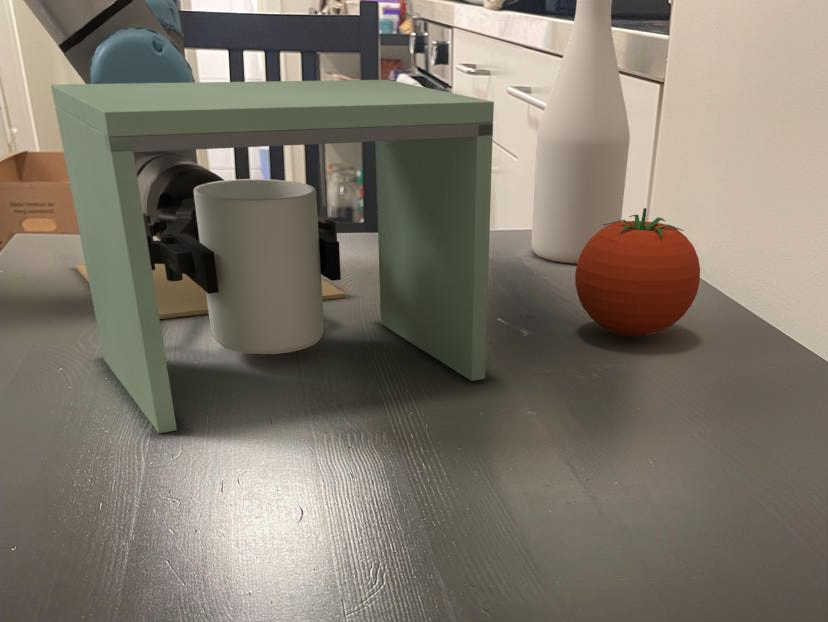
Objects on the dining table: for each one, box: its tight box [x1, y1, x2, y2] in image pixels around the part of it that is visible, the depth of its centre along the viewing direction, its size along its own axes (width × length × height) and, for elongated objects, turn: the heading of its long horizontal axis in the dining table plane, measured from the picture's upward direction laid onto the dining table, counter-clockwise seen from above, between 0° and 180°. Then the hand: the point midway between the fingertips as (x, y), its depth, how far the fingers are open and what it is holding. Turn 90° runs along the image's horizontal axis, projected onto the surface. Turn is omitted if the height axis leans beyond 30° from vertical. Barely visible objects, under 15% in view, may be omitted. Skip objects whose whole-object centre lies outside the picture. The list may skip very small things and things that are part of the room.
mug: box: [193, 178, 325, 355], centre depth 73 cm, size 9×12×11 cm
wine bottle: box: [530, 0, 631, 264], centre depth 98 cm, size 10×10×30 cm
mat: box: [75, 264, 346, 320], centre depth 92 cm, size 20×20×1 cm
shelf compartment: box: [50, 79, 495, 434], centre depth 67 cm, size 24×16×18 cm, turn 120°
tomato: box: [574, 207, 701, 337], centre depth 80 cm, size 10×10×10 cm
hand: (274, 267), depth 70 cm, fingers closed on mug, 9 cm apart
